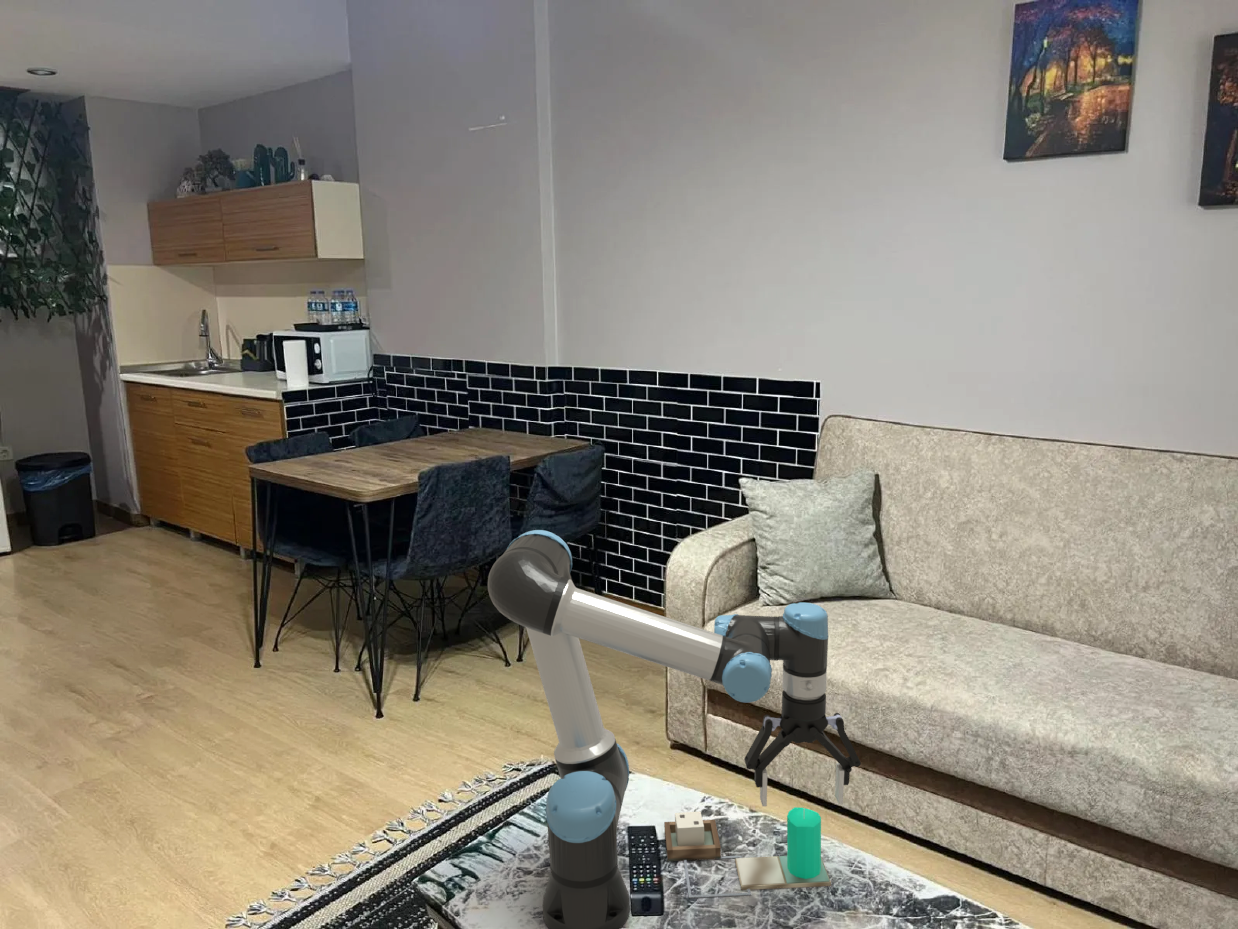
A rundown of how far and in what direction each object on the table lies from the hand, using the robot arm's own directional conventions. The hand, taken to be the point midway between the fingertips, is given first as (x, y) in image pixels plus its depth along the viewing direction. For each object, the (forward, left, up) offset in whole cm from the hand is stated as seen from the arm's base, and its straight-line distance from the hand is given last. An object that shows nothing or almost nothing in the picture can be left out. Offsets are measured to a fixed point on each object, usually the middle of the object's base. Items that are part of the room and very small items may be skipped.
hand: (801, 801), depth 164 cm
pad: (-16, 0, -14) cm, 21 cm away
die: (-19, +9, -14) cm, 26 cm away
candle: (0, 0, -14) cm, 14 cm away
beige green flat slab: (-4, 0, -14) cm, 15 cm away
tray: (-19, +9, -14) cm, 26 cm away
